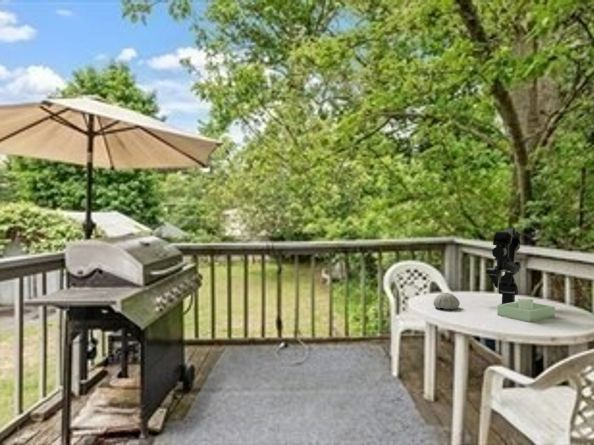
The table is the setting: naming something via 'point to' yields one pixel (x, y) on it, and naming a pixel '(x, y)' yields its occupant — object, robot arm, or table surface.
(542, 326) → the table surface
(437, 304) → the sea urchin shell
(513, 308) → the bin
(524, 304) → the shot glass
